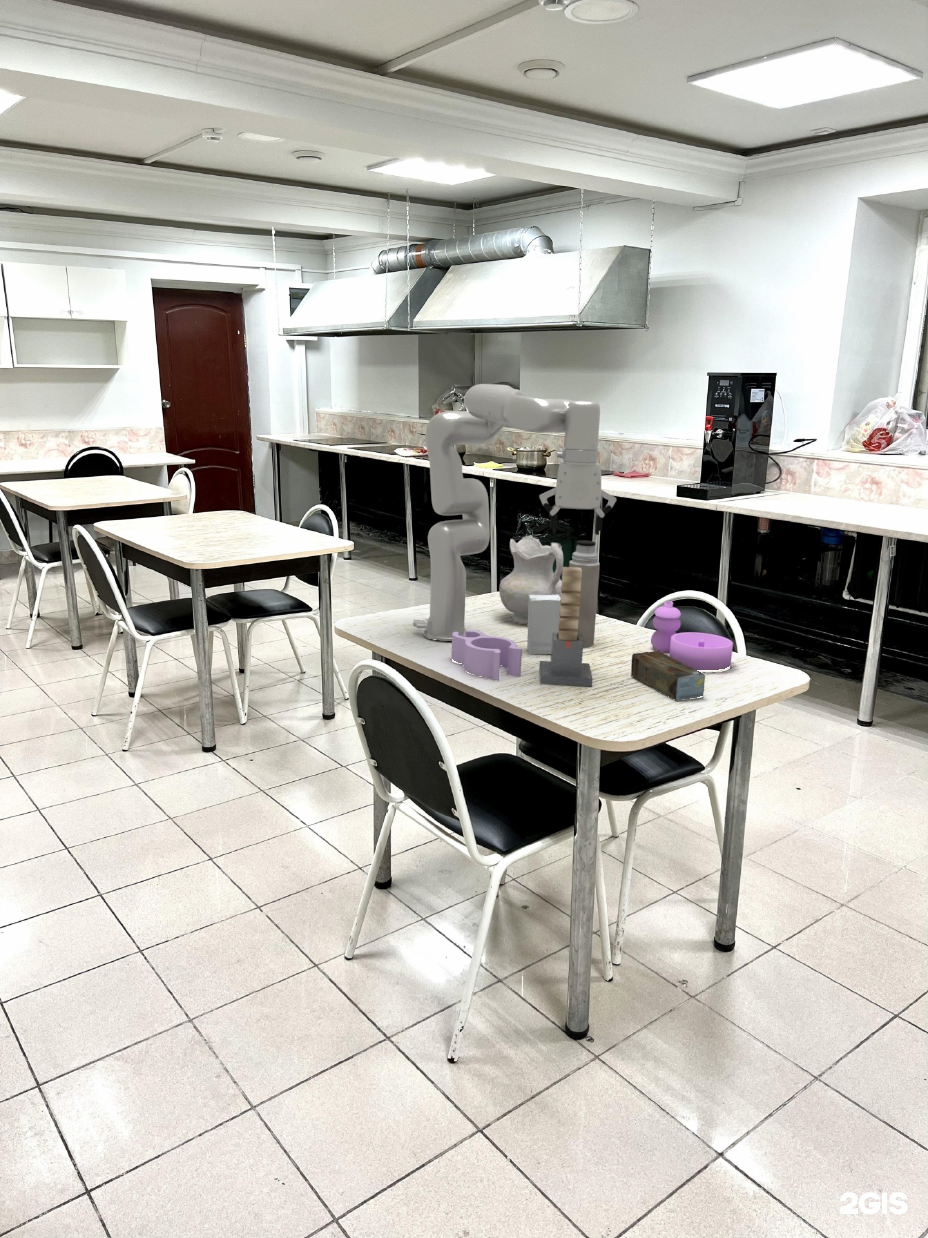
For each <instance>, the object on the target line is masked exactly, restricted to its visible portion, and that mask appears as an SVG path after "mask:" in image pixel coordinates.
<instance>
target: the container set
mask: <svg viewBox="0 0 928 1238" xmlns="http://www.w3.org/2000/svg"><path fill="white" fill-rule="evenodd" d="M663 604H664V605H663V606H659V607H657V608H656V609H655V610H654V615H655V616H654V617H653V620H652V625H653V627H654V629H656V630H655V631H654V632H653V633H652V635H651V637H650V643H651V644H650V645H652V647H653V649H654V651H656V650H657V651H660V652H662V653H669V655H668V656H670V657H672V658H674V659H676V660H678V661H680V662H682V663H684V664H686V665H687V666H689V667H691V668H693V669H695V670H719V669H725V668H727V667H729V666H730V665H731V663H732V657H733V655H732V654H733V648H734V647H733V646H734V642H733V640H731V639H729V638H727V637H724V636H721V635H717V634H712V633H706V632H693V631H691V632H679V633H677V631H679V630H680V628H681V625H682V621H681V620H680V617H681V615H682V614H681V611H680V610H679V609H678V608H677V607H674V606H673V605H674V602H673V601H669V600H668V601H664V603H663ZM730 667H731V666H730Z"/></svg>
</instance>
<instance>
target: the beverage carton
mask: <svg viewBox="0 0 928 1238" xmlns="http://www.w3.org/2000/svg"><path fill="white" fill-rule="evenodd" d="M630 669H631V670H630V676H631V677H632V678H634V679H636V680H638V681H640V682H641V683H643V684H644V685H646V686H648V687H650V688H651V689H653V688H654V689H653V690H655V691H657V692H658V693H660V692H661V694H662V695H664V694H665V695H664V696H665V697H668V696H669V697H668V698H670V699H671V698H672V699H671V700H673V699H675V700H676V701H675V700H674V701H675V702H679V701H678V700H682V699H690V698H697V697H700V696H703V697H704V694H705V693H704V692H705V681H706V674H705V673H701V672H699V671H697V670H695V669H693V668H691V667H689V666H687V665H686V664H684V663H682V662H680V661H678V660H676V659H674V658H672V657H670V656H669V655H668V654H666V653H665V652H660V651H656V650H654V651H643V652H635V653H632V655H631V667H630ZM682 701H683V700H682Z"/></svg>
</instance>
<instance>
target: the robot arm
mask: <svg viewBox="0 0 928 1238" xmlns="http://www.w3.org/2000/svg"><path fill="white" fill-rule="evenodd" d="M463 405H464V407H465V411H463V410H449V411H448V410H447V411H442V412H439V413H436V414H435V415H433V416H432V417H431V418H430V420H428V422H427V425H426V429H425V433H424V439H425V440H424V441H425V447H426V452H427V456H428V461H429V475H430V477H429V478H430V492H431V493H430V494H431V504H432V509H433V510H434V512H435V513H436V514H438V515H441V516H458V515H459V516H460V515H462V519H452V520H444V521H439V522H437V523H435V524H434V525H433V526H432V527H431V528H430V529H429V531H428V535H427V543H428V550H429V557H430V593H429V594H430V597H429V617H428V618H425V619H424V620H421V619H413V624H412V626H413V627H414V628H415V627H416V629H424V630H423V634H424V635H423V637H424V636H426V637H427V638H426V637H425V638H426V639H428V638H430V639H436V640H441V641H440V642H442V641H452V633H453V632H459V636H462V637H465V635H466V630H467V629H466V628H465V620H466V619H465V618H466V617H465V615H466V614H465V613H466V589H467V588H466V587H467V571H466V568H465V565H464V563H463V561H462V557H461V556H468V555H474V554H479V553H483V552H484V551H485V550H486V549H487V547H488V546H489V542H490V538H491V537H490V534H491V533H490V530H491V529H490V508H489V496H488V492H487V489H486V487H485V485H484V484H483V483H482V481H480V480H479V479H475V478H473V477H472V478H468V477H467V478H465V477H464V474H463V463H462V459H461V456H460V455H459V453H458V451H457V450H456V448H455V447H454V446H457V445H458V446H459V445H462V446H463V445H464V446H465V445H471V446H472V445H476V446H478V445H483V444H486V443H488V442H490V441H492V440H493V439H494V438H495V437H496V436H497V435H498V434H499V433H500V432H501V431H502V429H504V428H505V426H508V427H510V428H512V429H515V430H519V431H525V432H529V433H535V434H537V433H538V434H544V433H546V434H547V433H555V434H563V433H564V437H563V439H564V442H563V450H560V451H557V453H556V458H559V459H562V460H563V461H562V462H560V463H559V465H558V470H557V475H556V484H555V487H554V488H552V489H550V490H548V491H545V492H544V493H541V494H539V499H540V501H541V504H542V506H543V508H544V509H545V510H546V511H547V513H549V515H550V525H549V528H550V530H552V533H553V534H556V533H557V527H558V515H557V513H558V512H559V510H560V509H571V510H572V509H573V510H574V509H575V510H594V512H596V516H595V523H594V525H595V526H594V534H595V535H596V536H599V534H600V532H602V531H603V520H604V517H605V516H606V515H607V514H608V513H609V512H611V510H612V508H613V507H614V505H615V503H616V502H617V497H616V496H613V495H611V494H610V493H608V492H607V491H604V490H603V489H602V469H601V464H600V463H598V450H599V448H598V447H599V434H600V432H599V431H600V418H601V406H600V404H599V403H598V402H597V401H594V400H593V401H592V400H572V399H566V398H538V397H537V398H536V397H530V396H526V395H525V393H524V392H523V391H521V390H520V389H516V388H513V387H511V386H510V385H506V384H498V383H497V384H494V383H493V384H492V383H480V384H479V383H478V384H475V385H472V386H471V387H470V388H469V389H467V391H466V393H465V394H464V398H463ZM552 496H555V497H554V498H555V499H554V501H555V504H554V505H553V506H551V505H550V503H549V502H548V498H550V497H552ZM602 498H604V499H605V500H608V502H607V504H606V505H605V506H604V507H603V508H601V502H602ZM430 639H429V640H430Z"/></svg>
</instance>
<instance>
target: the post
mask: <svg viewBox="0 0 928 1238" xmlns="http://www.w3.org/2000/svg"><path fill="white" fill-rule="evenodd" d="M581 578H582V570H581V568H575V567H569V566H563V569H562V574H561V581H562V586H561V599H560V611H559V615H560V618H559V633H558V639H562V640H577V634H578V620H579V607H580V594H581Z"/></svg>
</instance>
